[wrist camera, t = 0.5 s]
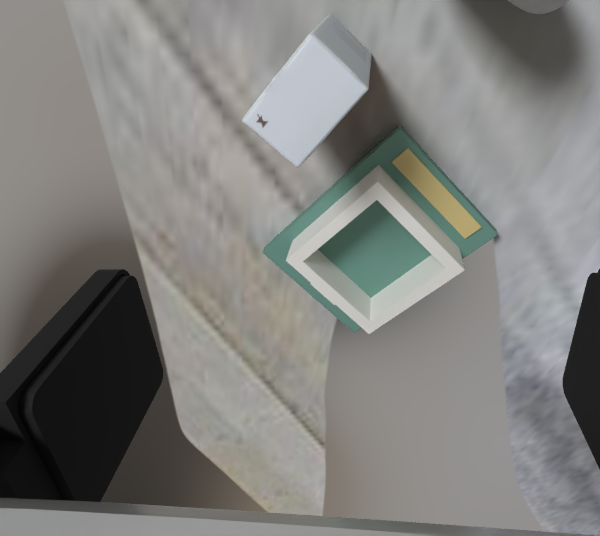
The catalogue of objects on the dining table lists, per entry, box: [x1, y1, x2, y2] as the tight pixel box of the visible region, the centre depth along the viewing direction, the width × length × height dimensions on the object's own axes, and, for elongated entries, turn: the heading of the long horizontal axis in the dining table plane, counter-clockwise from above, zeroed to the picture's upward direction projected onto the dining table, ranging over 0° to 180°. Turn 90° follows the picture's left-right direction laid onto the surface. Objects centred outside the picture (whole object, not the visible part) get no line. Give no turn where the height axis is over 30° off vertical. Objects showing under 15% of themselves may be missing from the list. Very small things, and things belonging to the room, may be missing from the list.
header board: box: [262, 125, 498, 334], centre depth 41 cm, size 16×12×4 cm
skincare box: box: [242, 13, 372, 167], centre depth 31 cm, size 6×4×12 cm
